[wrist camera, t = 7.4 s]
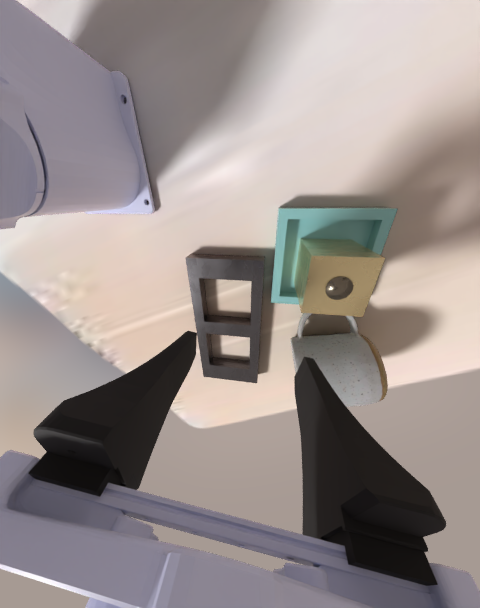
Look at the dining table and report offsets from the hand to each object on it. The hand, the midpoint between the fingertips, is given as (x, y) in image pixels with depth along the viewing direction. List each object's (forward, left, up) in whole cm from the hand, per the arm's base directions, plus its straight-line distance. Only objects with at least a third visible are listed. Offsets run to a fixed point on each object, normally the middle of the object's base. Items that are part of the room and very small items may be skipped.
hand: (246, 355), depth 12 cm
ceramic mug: (+6, +8, -11) cm, 15 cm away
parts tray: (-4, +6, -10) cm, 13 cm away
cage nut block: (-3, +6, -10) cm, 12 cm away
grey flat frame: (+5, -3, -10) cm, 12 cm away
